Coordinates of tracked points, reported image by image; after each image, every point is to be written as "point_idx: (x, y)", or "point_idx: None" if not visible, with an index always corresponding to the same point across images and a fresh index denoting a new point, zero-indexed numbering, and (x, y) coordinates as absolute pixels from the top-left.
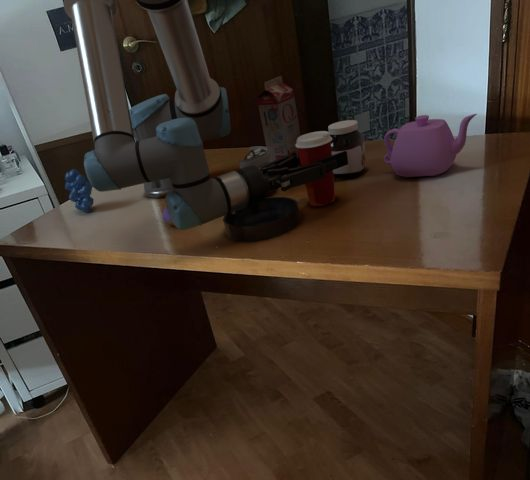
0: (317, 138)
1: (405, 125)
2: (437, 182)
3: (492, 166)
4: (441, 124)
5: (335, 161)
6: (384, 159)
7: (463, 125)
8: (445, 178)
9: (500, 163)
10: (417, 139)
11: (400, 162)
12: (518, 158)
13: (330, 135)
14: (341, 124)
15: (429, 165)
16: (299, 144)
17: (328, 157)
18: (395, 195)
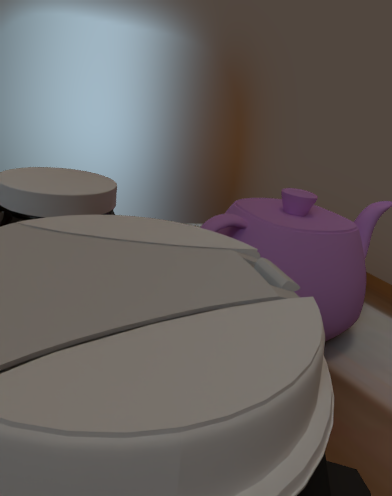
0: (306, 336)
1: (248, 207)
2: (368, 361)
3: (369, 297)
4: (340, 216)
5: (362, 489)
6: None
7: (374, 223)
8: (357, 342)
9: (366, 289)
10: (335, 254)
11: None
12: (368, 277)
13: (14, 216)
14: (54, 178)
15: (351, 320)
16: (6, 492)
17: (316, 475)
18: (374, 460)
